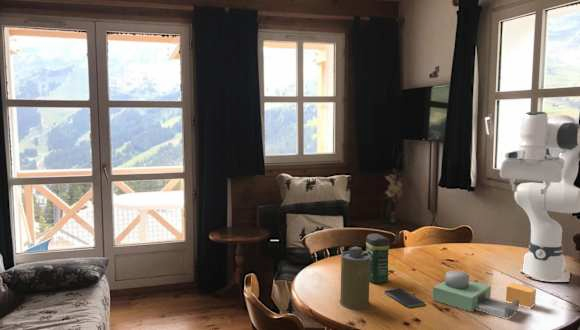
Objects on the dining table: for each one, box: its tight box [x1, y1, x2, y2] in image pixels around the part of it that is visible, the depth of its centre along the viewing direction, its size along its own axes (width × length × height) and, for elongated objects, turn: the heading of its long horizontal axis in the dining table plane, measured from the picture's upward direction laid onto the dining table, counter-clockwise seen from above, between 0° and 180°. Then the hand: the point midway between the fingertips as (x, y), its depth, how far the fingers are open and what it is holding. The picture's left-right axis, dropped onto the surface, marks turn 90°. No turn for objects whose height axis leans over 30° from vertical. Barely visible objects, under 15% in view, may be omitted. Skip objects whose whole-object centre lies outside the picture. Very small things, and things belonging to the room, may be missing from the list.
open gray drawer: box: [475, 296, 520, 320], centre depth 156 cm, size 10×11×4 cm
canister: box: [339, 245, 371, 310], centre depth 161 cm, size 11×10×20 cm
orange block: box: [505, 282, 537, 307], centre depth 162 cm, size 5×8×6 cm, turn 45°
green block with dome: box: [432, 270, 492, 312], centre depth 165 cm, size 16×14×9 cm
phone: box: [383, 288, 426, 309], centre depth 166 cm, size 8×1×15 cm
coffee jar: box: [365, 233, 390, 284], centre depth 184 cm, size 10×8×19 cm
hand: (528, 192), depth 168 cm, fingers open, 8 cm apart
